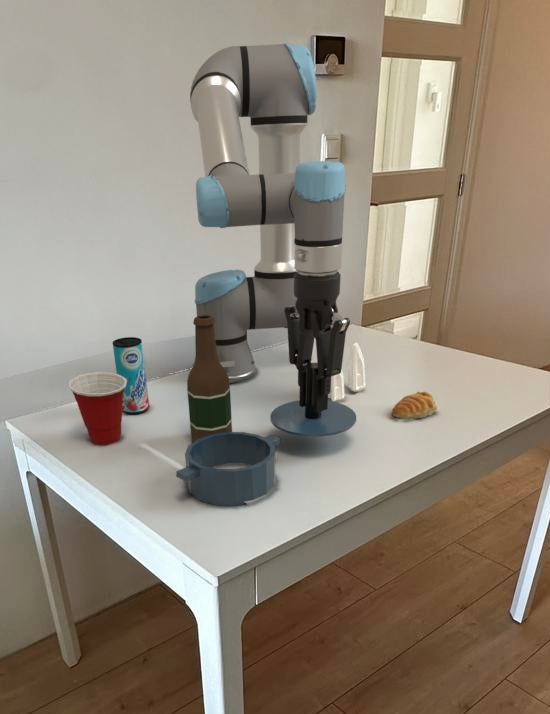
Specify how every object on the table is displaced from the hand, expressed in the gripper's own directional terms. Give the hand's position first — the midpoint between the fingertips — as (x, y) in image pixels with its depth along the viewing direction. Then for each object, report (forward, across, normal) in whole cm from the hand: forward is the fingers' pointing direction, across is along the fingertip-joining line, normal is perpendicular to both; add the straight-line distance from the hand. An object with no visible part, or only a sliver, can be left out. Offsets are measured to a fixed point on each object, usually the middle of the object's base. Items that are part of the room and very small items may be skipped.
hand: (313, 407), depth 114 cm
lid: (+2, 0, 0) cm, 2 cm away
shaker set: (+8, -14, +24) cm, 29 cm away
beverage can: (+8, -39, -15) cm, 42 cm away
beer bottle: (+8, -14, -13) cm, 21 cm away
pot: (+8, +1, -20) cm, 22 cm away
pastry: (+8, +3, +26) cm, 27 cm away
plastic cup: (+8, -30, -27) cm, 41 cm away
